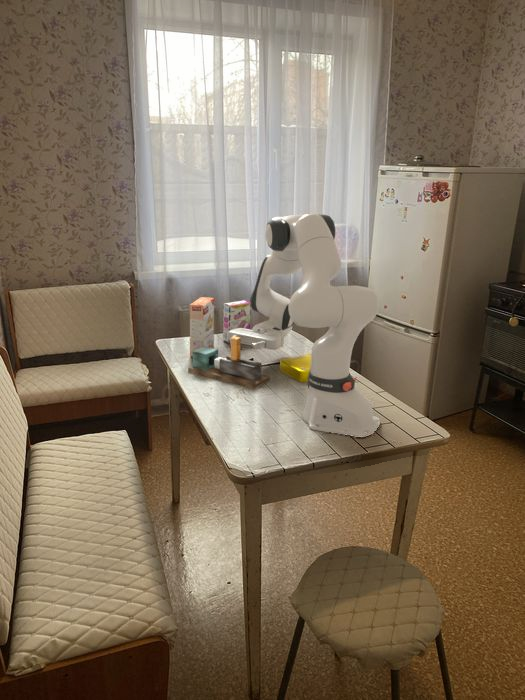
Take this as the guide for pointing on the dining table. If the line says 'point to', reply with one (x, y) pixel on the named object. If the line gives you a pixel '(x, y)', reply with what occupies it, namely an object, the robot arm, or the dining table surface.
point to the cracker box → (201, 324)
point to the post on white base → (232, 352)
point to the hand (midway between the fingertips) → (242, 343)
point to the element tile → (297, 367)
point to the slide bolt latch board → (227, 368)
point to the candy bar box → (235, 317)
